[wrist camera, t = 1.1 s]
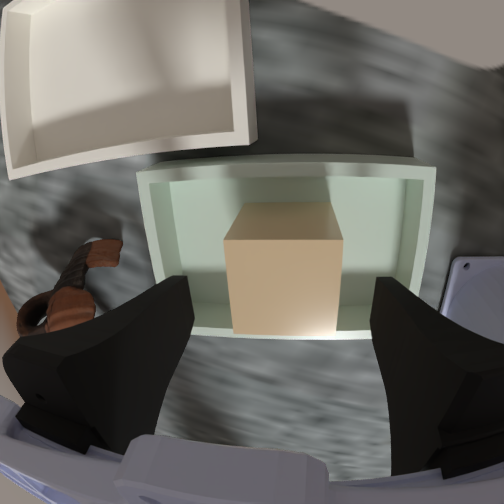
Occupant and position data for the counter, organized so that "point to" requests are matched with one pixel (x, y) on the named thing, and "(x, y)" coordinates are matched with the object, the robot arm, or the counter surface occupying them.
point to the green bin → (289, 190)
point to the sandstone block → (284, 269)
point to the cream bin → (122, 79)
